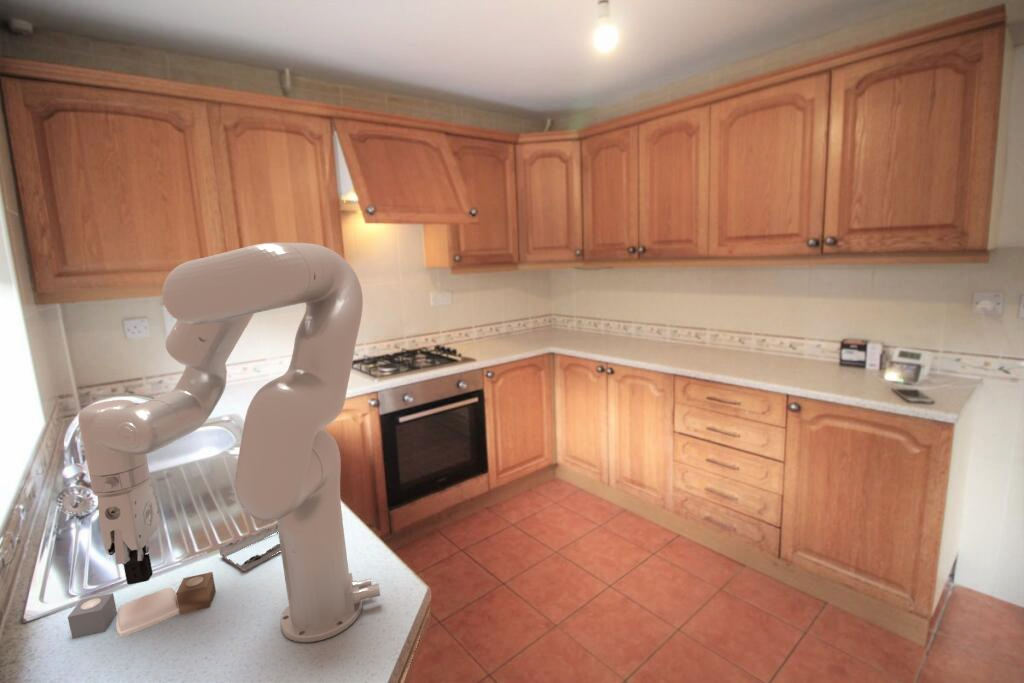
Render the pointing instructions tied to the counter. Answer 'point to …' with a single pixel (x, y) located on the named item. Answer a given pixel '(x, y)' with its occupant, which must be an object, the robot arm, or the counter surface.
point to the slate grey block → (92, 615)
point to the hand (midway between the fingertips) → (140, 579)
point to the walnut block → (196, 592)
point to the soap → (146, 611)
